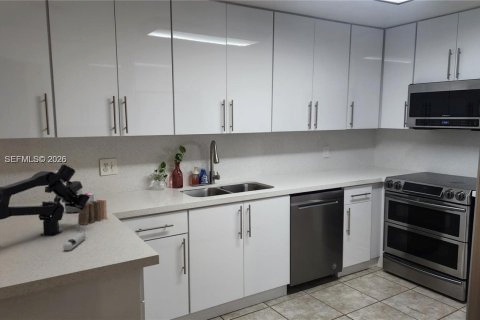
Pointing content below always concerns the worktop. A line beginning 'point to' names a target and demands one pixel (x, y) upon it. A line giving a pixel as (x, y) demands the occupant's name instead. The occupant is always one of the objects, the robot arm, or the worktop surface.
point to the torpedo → (74, 241)
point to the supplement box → (90, 197)
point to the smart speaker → (71, 209)
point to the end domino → (103, 208)
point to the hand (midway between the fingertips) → (82, 208)
